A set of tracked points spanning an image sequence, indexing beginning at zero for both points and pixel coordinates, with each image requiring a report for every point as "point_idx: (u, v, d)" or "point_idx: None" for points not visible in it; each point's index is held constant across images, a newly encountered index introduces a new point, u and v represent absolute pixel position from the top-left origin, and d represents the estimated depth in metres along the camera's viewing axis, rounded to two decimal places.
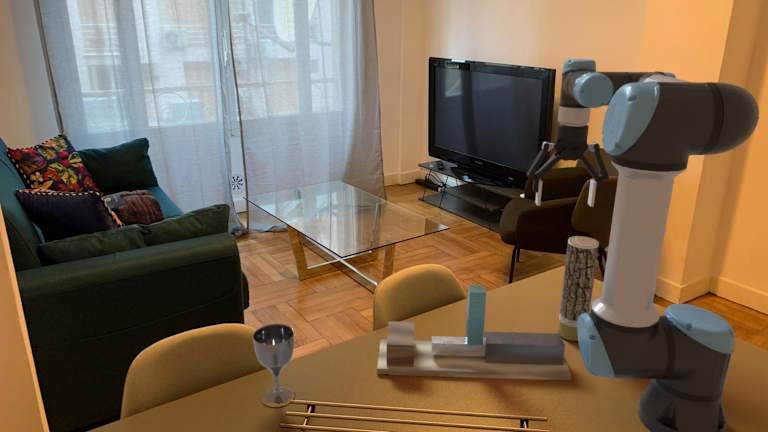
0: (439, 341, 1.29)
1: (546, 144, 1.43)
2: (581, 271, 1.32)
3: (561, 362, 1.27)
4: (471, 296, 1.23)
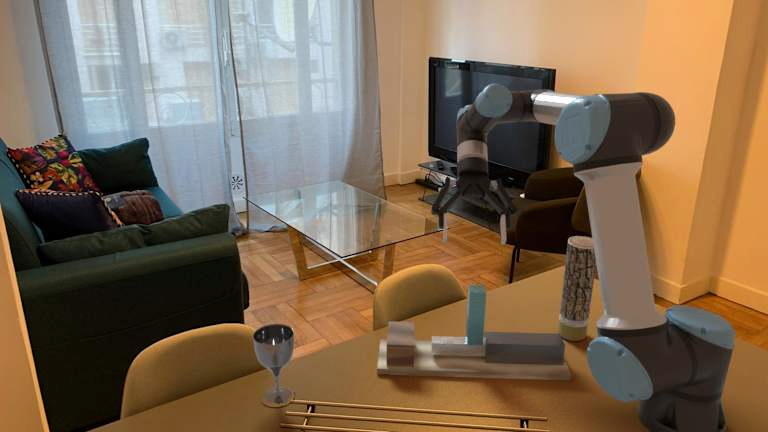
0: (439, 341, 1.29)
1: (447, 178, 1.40)
2: (581, 271, 1.32)
3: (561, 362, 1.27)
4: (471, 296, 1.23)
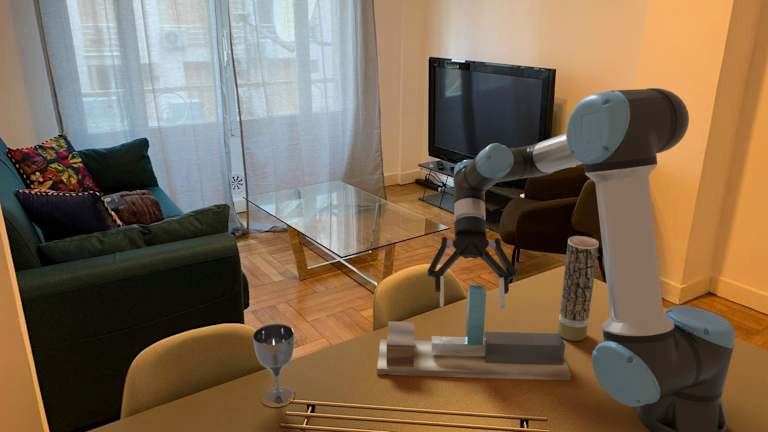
0: (439, 341, 1.29)
1: (444, 237, 1.36)
2: (581, 271, 1.32)
3: (561, 362, 1.27)
4: (471, 296, 1.23)
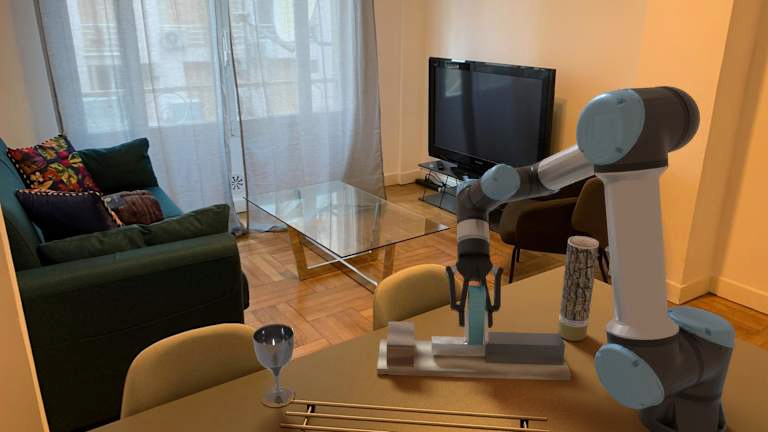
0: (439, 341, 1.29)
1: (447, 267, 1.31)
2: (581, 271, 1.32)
3: (561, 362, 1.27)
4: (471, 296, 1.23)
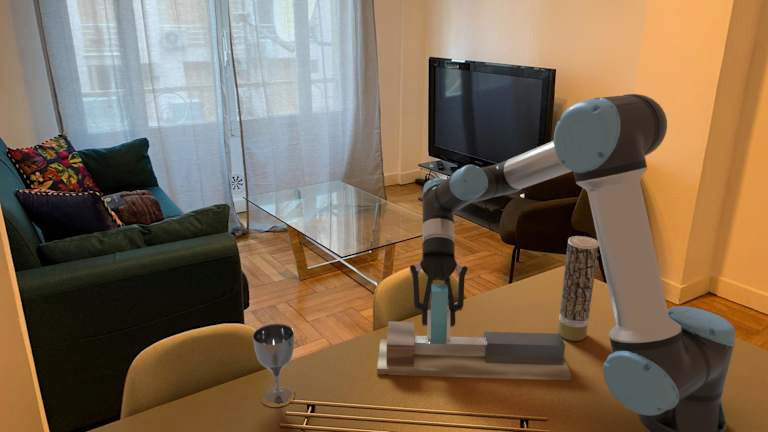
0: None
1: (411, 266, 1.31)
2: (581, 271, 1.32)
3: (561, 362, 1.27)
4: (433, 295, 1.24)
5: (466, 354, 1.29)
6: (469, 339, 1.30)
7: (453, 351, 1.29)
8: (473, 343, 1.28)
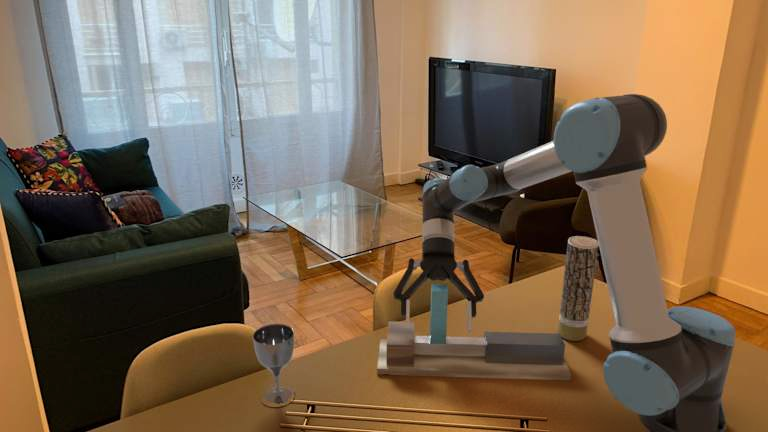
0: None
1: (411, 259, 1.32)
2: (581, 271, 1.32)
3: (561, 362, 1.27)
4: (433, 295, 1.24)
5: (466, 354, 1.29)
6: (469, 339, 1.30)
7: (453, 351, 1.29)
8: (473, 343, 1.28)
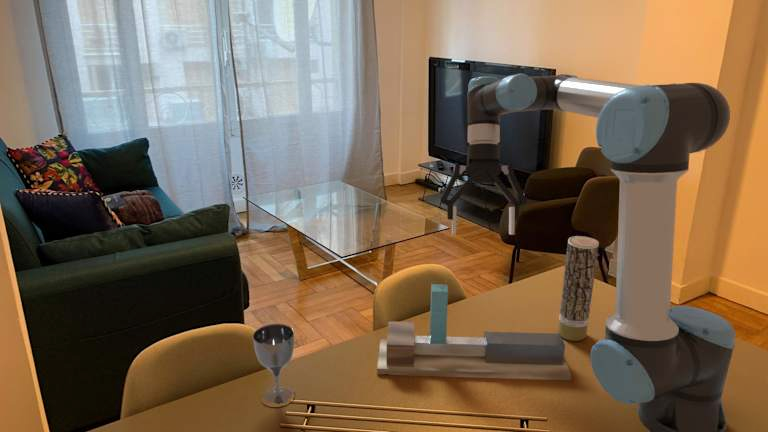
0: None
1: (457, 165, 1.34)
2: (581, 271, 1.32)
3: (561, 362, 1.27)
4: (433, 295, 1.24)
5: (466, 354, 1.29)
6: (469, 339, 1.30)
7: (453, 351, 1.29)
8: (473, 343, 1.28)
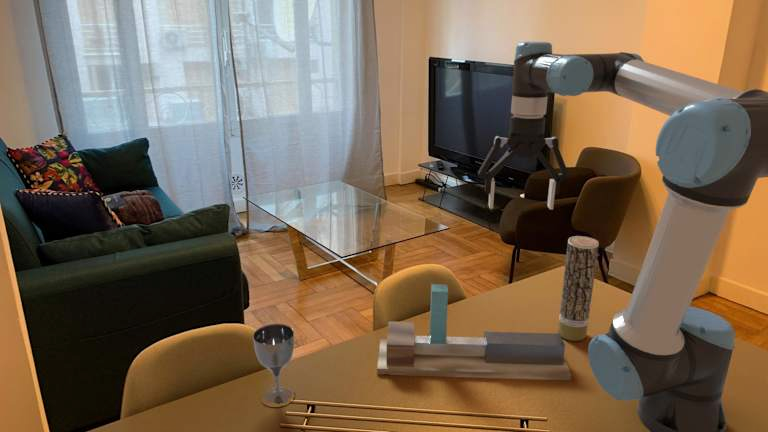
0: None
1: (498, 139, 1.26)
2: (581, 271, 1.32)
3: (561, 362, 1.27)
4: (433, 295, 1.24)
5: (466, 354, 1.29)
6: (469, 339, 1.30)
7: (453, 351, 1.29)
8: (473, 343, 1.28)
